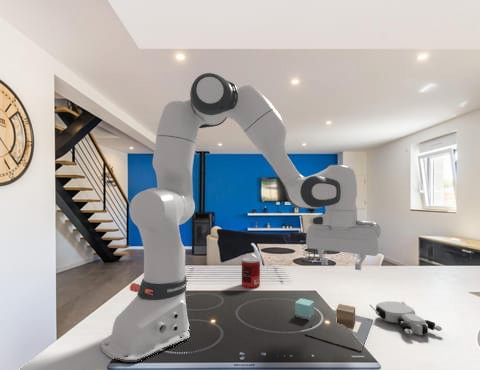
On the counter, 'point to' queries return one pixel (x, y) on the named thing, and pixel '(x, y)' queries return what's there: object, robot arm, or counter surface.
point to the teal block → (304, 307)
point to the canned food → (250, 272)
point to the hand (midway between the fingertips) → (340, 267)
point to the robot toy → (404, 317)
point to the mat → (361, 327)
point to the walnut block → (345, 315)
